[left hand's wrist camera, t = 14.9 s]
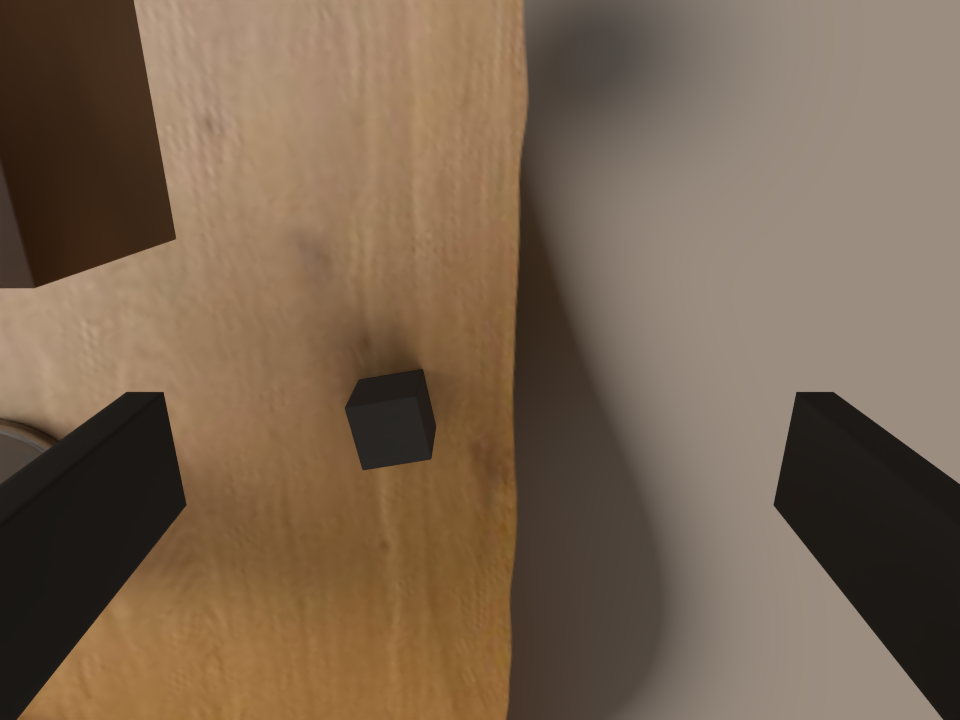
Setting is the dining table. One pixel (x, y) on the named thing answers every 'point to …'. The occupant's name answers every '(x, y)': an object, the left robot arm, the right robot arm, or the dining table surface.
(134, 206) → the walnut box
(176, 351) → the dining table surface
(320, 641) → the dining table surface
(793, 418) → the left robot arm
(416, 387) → the rubber block
